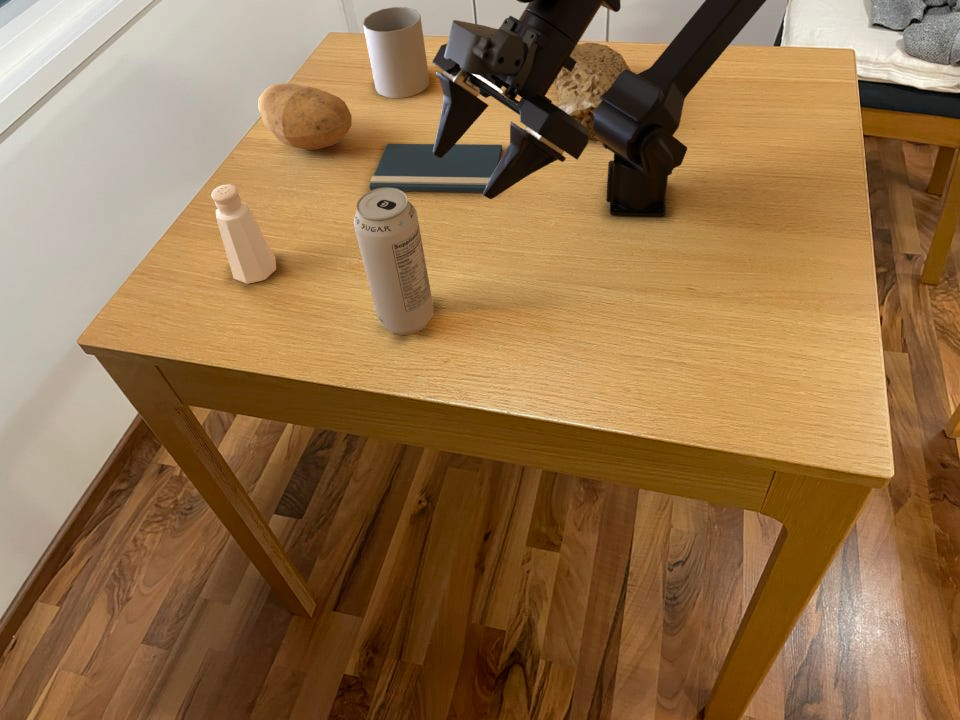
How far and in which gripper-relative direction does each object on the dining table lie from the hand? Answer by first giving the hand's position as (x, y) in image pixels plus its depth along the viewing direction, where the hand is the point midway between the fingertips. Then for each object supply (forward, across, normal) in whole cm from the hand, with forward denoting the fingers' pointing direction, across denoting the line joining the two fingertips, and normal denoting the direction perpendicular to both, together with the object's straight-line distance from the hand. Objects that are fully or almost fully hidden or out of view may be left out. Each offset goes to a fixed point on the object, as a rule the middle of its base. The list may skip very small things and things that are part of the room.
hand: (460, 175), depth 73 cm
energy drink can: (+16, +1, +4) cm, 17 cm away
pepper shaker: (+23, -18, -4) cm, 30 cm away
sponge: (-14, -21, +33) cm, 41 cm away
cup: (-2, -45, +21) cm, 50 cm away
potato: (+11, -39, +9) cm, 41 cm away
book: (+4, -22, +16) cm, 27 cm away
